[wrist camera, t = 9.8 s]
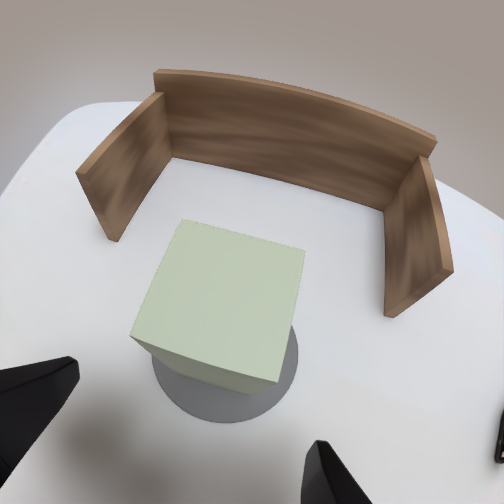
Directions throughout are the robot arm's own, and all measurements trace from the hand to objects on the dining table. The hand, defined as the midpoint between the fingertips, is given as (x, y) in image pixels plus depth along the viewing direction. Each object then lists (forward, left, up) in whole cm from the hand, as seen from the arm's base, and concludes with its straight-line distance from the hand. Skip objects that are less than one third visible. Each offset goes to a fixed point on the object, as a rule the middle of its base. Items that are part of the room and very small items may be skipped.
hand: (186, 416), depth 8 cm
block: (+3, +3, -9) cm, 10 cm away
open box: (+13, +10, -9) cm, 19 cm away
